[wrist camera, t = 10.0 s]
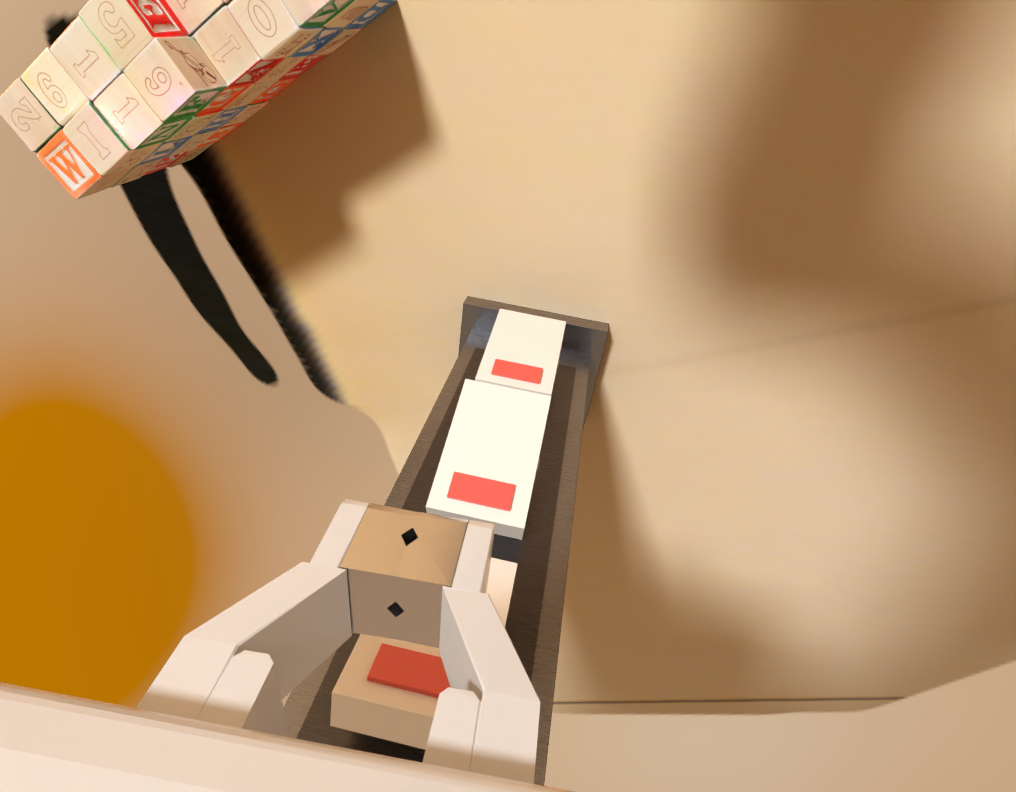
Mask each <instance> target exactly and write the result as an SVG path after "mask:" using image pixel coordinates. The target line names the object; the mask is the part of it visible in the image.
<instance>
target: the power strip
mask: <svg viewBox="0 0 1016 792" xmlns="http://www.w3.org/2000/svg"><path fill="white" fill-rule="evenodd" d="M500 309H505V310H510V311H515V312H520V313H525V314H530V315H535V316H541V317H546V318H551V319H556V320H561V321H566V325H565V330H564V335H563V340H562V345H561V350H560V355H559V359H560V362H559V367H558V369H556V374H555V379H554V384H553V389H552V394H551V401H550V406H549V410H548V415H547V420H546V425H545V430H544V435H543V440H542V445H541V450H540V455H539V458H540V464H539V469H538V471H536V474H535V479H534V484H533V489H532V494H531V499H530V504H529V509H528V514H527V518H526V523H525V528H524V533H523V537H522V540H520V539H516V538H511V537H507V536H502V535H498V534H494V540H493V548H492V555H491V557H492V558H496V559H500V560H505V561H509V562H514V563H518V564H517V569H516V574H515V579H514V584H513V589H512V594H511V599H510V604H509V609H508V614H507V620H506V625H505V629H506V631H507V633H508V635H509V637H510V639H511V642H512V644H513V646H514V648H515V650H516V652H517V654H518V656H519V658H520V660H521V663H522V665H523V667H524V669H525V671H526V673H527V675H528V677H529V679H530V681H531V684H532V686H533V688H534V690H535V692H536V694H537V696H538V698H539V700H540V713H539V725H538V738H537V750H536V762H535V774H534V784H537V785H542V786H544V781H545V773H546V763H547V754H548V745H549V735H550V726H551V717H552V708H553V698H554V689H555V680H556V670H557V661H558V652H559V642H560V633H561V624H562V615H563V605H564V596H565V587H566V577H567V568H568V559H569V549H570V540H571V531H572V522H573V512H574V503H575V494H576V484H577V475H578V466H579V456H580V447H581V438H582V429H583V428H584V424H585V420H586V416H587V413H588V409H589V405H590V401H591V397H592V393H593V389H594V386H595V382H596V378H597V374H598V370H599V366H600V362H601V358H602V355H603V351H604V347H605V343H606V339H607V335H608V329H609V324H607V323H602V322H597V321H592V320H587V319H581V318H576V317H571V316H566V315H561V314H556V313H551V312H546V311H541V310H535V309H530V308H525V307H520V306H515V305H510V304H505V303H500V302H495V301H489V300H484V299H479V298H474V297H469V296H467V298H466V300H465V302H464V303H463V314H462V324H461V335H460V345H459V356H458V359H457V361H456V363H455V365H454V367H453V369H452V371H451V373H450V375H449V377H448V379H447V381H446V383H445V385H444V387H443V389H442V391H441V393H440V395H439V397H438V399H437V401H436V403H435V405H434V407H433V409H432V411H431V413H430V415H429V417H428V419H427V421H426V423H425V425H424V427H423V429H422V431H421V433H420V435H419V437H418V439H417V441H416V443H415V445H414V447H413V449H412V451H411V453H410V455H409V457H408V459H407V461H406V463H405V465H404V467H403V469H402V471H401V473H400V475H399V477H398V479H397V481H396V483H395V485H394V487H393V489H392V491H391V493H390V495H389V497H388V499H387V501H386V503H385V505H384V506H388V507H393V508H399V509H404V510H409V511H414V512H419V513H420V512H423V513H427V512H426V504H427V501H428V498H429V494H430V491H431V488H432V485H433V482H434V478H435V475H436V472H437V469H438V465H439V462H440V459H441V456H442V453H443V449H444V446H445V442H446V439H447V437H448V433H449V430H450V427H451V424H452V420H453V417H454V414H455V411H456V408H457V404H458V401H459V398H460V395H461V392H462V388H463V385H464V382H465V379H469V380H474V381H475V378H476V375H477V372H478V369H479V366H480V364H481V361H482V358H483V355H484V352H485V349H486V346H487V344H488V341H489V338H490V335H491V332H492V330H493V327H494V324H495V321H496V318H497V315H498V313H499V310H500ZM359 636H360V634H358V633H352V636H351V637H350V638H349V639H348V640H346V641H345V642H344V643H343V644H342V645H341V646H340V647H339V648H338V649H337V650H336V651H334V652H333V653H332V654H331V655H330V656H329V657H328V658H327V659H326V660H325V661H324V662H323V663H321V664H320V665H319V666H318V667H317V668H316V669H315V670H314V671H313V672H312V673H311V674H309V675H308V676H307V677H306V678H305V679H304V680H303V681H302V682H301V683H300V684H299V685H297V686H296V687H295V688H294V689H293V690H292V692H291V694H290V696H289V698H288V700H287V702H286V704H285V706H284V713H285V718H286V722H287V727H288V732H289V736H290V738H296V739H301V740H306V741H311V742H317V743H322V744H327V745H332V746H338V747H343V748H348V749H353V750H359V751H364V752H369V753H374V754H380V755H385V756H390V757H395V758H400V759H406V760H411V761H416V762H421V763H422V762H423V758H424V754H425V750H424V749H420V748H416V747H412V746H409V745H405V744H401V743H397V742H393V741H389V740H385V739H381V738H377V737H373V736H369V735H365V734H361V733H357V732H353V731H349V730H345V729H341V728H337V727H333V726H330V721H331V700H332V691H333V689H334V687H335V685H336V683H337V681H338V679H339V677H340V675H341V673H342V671H343V669H344V667H345V665H346V663H347V661H348V659H349V657H350V655H351V653H352V651H353V649H354V646H355V644H356V642H357V640H358V638H359Z"/></svg>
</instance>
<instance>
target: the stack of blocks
mask: <svg viewBox="0 0 1016 792" xmlns="http://www.w3.org/2000/svg"><path fill="white" fill-rule="evenodd" d="M396 1H397V0H89V2H88V3H87V4H86V5H85V6H84V7H83V8H82V9H81V11H80V12H79V16H78V17H77V18H76V19H75V20H74V21H73V22H72V23H71V24H70V25H69V26H68V27H67V28H66V29H65V31H64V32H63V33H62V34H61V35H60V36H59V37H58V38H57V39H56V41H55V42H54V43H53V44H52V45H51V47H48V48H46V49H45V50H44V51H43V52H42V53H41V54H40V55H39V56H38V57H37V59H36V60H35V61H34V62H33V63H32V64H31V65H30V66H29V67H28V68H27V70H26V71H25V72H24V73H23V74H22V75H21V77H20V78H17V79H16V80H15V81H14V82H13V83H12V84H11V85H10V86H9V87H8V88H7V89H6V91H4V92H3V93H2V94H1V96H0V115H1V116H2V117H3V118H4V119H5V121H6V122H7V123H8V124H9V125H10V126H11V127H12V129H13V130H14V131H15V132H16V133H17V134H18V136H19V137H20V138H21V139H22V140H23V141H24V143H25V144H26V145H27V146H28V148H29V149H30V150H31V151H32V152H37V156H38V158H39V159H40V161H41V162H42V163H43V164H44V165H45V166H46V168H47V169H48V170H49V171H50V172H51V173H52V174H53V175H54V177H55V178H56V179H57V180H58V181H59V182H60V183H61V184H62V185H63V186H64V188H65V189H66V190H67V191H68V192H69V193H70V194H71V195H72V197H74V198H75V199H80V198H83V197H85V196H88V195H91V194H94V193H96V192H99V191H101V190H104V189H107V188H109V187H114V186H117V185H121V184H123V183H127V182H129V181H132V180H135V179H138V178H140V177H141V176H143V175H146V174H150V173H152V172H155V171H158V170H161V169H164V168H166V167H173V166H176V165H179V164H181V163H184V162H187V161H189V160H192V159H194V158H195V157H196V156H198V155H199V154H200V153H202V152H203V151H204V150H205V149H207V148H208V147H209V146H211V145H212V144H213V143H215V142H218V141H219V140H221V139H222V138H223V137H225V136H226V135H227V134H229V133H230V132H231V131H232V130H234V129H235V128H236V127H238V126H239V125H240V124H242V123H243V122H244V121H245V120H247V119H248V118H250V117H251V116H252V115H254V114H255V113H256V112H258V111H259V110H260V109H261V108H263V107H264V106H265V105H267V104H268V103H269V102H270V99H271V98H272V97H274V96H275V95H277V94H278V93H279V92H280V91H281V90H283V89H284V88H285V87H287V86H288V85H289V84H291V83H292V82H293V81H294V80H296V79H297V78H298V76H299V75H300V74H302V73H303V72H304V71H306V70H307V69H308V68H310V67H311V66H312V65H314V64H315V63H316V62H317V61H319V60H320V59H321V58H322V57H324V56H325V55H326V54H330V53H332V52H333V51H335V50H336V49H337V48H339V47H340V46H341V45H343V44H344V43H345V42H346V41H348V40H349V39H350V38H352V37H353V36H354V35H356V34H357V33H358V32H359V31H360V30H361V29H362V28H363V27H364V26H366V25H367V24H369V23H370V22H371V21H372V20H374V19H375V18H376V17H378V16H379V15H380V14H381V13H383V12H384V11H385V10H387V9H388V8H389V7H390V6H392V5H393V4H394V3H395V2H396Z"/></svg>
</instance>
